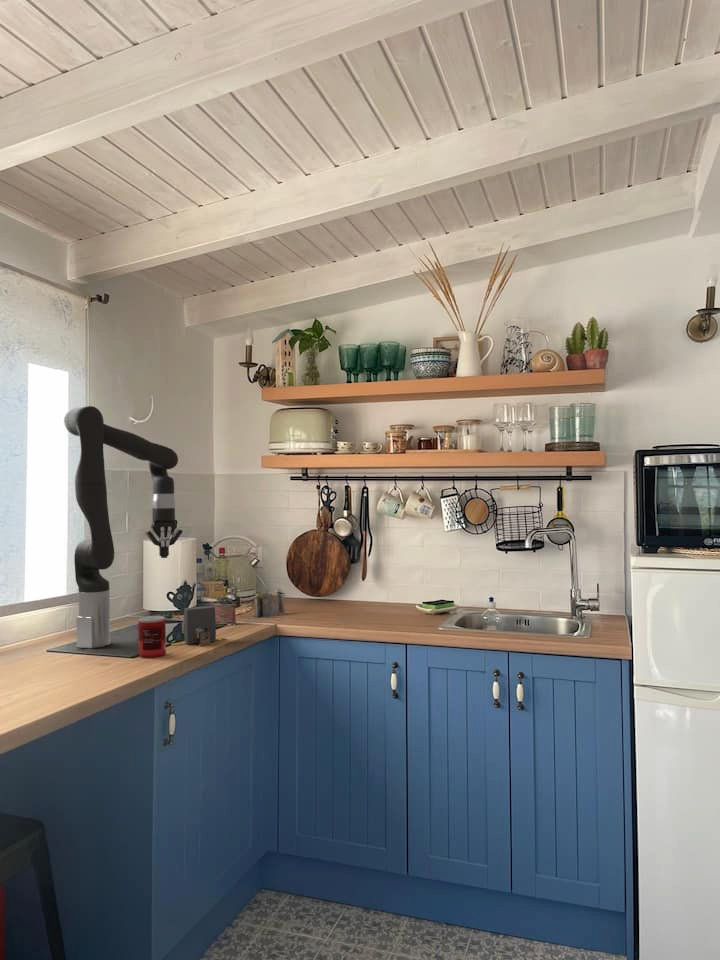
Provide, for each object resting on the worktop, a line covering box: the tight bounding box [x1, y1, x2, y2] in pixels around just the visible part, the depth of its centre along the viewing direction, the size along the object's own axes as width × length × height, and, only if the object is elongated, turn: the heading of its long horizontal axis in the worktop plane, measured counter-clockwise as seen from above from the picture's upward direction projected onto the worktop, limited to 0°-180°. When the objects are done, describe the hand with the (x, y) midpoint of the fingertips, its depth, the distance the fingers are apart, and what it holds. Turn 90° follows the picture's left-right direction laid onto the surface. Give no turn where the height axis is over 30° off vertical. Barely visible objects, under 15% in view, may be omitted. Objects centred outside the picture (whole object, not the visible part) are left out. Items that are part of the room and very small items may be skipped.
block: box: [183, 605, 217, 645], centre depth 235 cm, size 4×9×11 cm, turn 117°
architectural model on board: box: [254, 592, 286, 618], centre depth 284 cm, size 11×3×10 cm, turn 121°
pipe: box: [170, 621, 226, 647], centre depth 240 cm, size 23×18×4 cm
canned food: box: [137, 615, 167, 659], centre depth 218 cm, size 8×8×11 cm
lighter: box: [214, 596, 237, 626], centre depth 266 cm, size 8×3×10 cm, turn 74°
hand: (164, 557), depth 253 cm, fingers closed
